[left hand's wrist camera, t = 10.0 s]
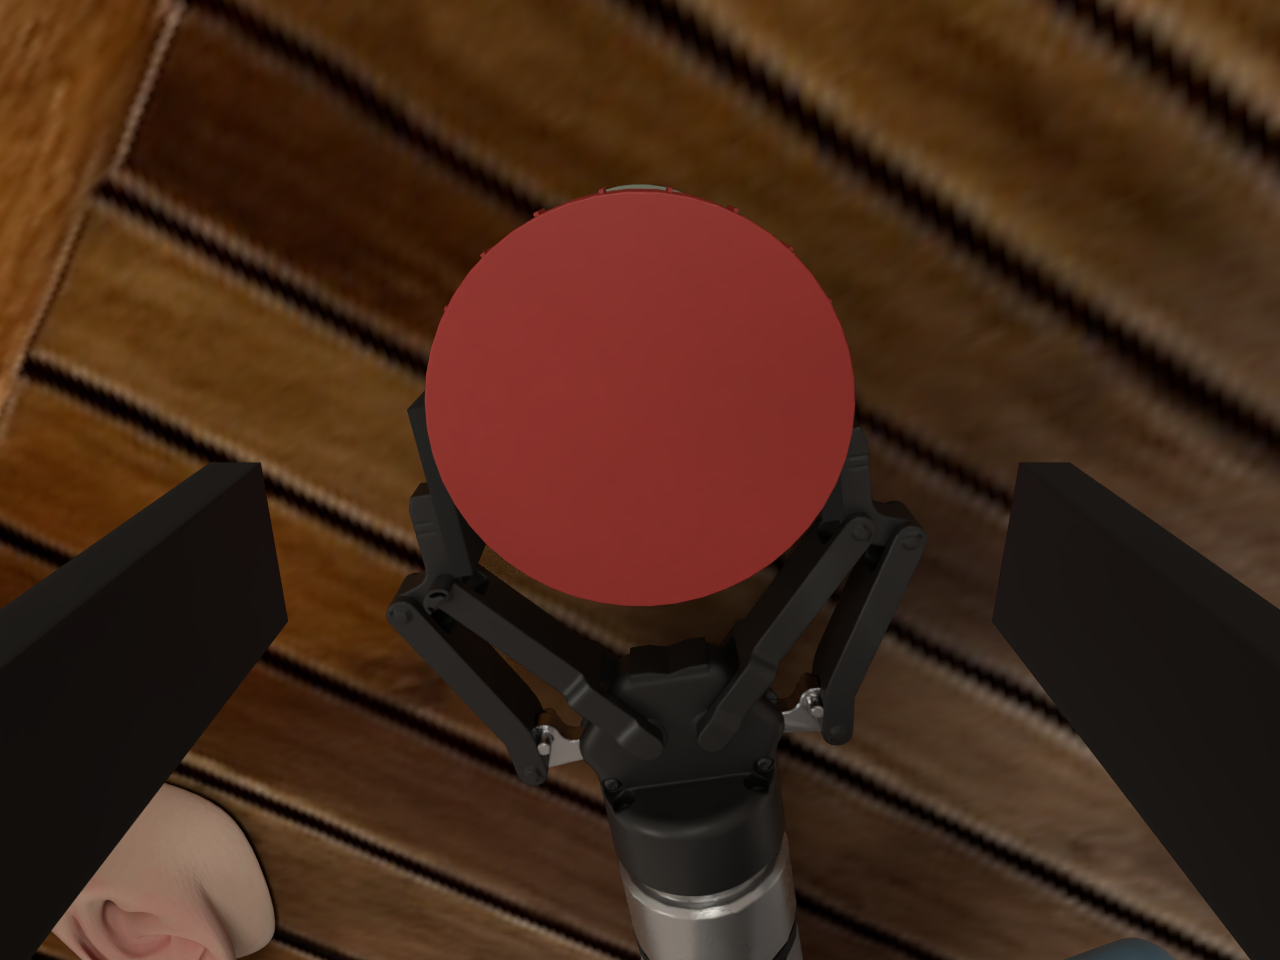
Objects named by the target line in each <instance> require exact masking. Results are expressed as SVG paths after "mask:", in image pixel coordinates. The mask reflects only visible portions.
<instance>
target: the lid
mask: <svg viewBox="0 0 1280 960" xmlns="http://www.w3.org/2000/svg"><path fill="white" fill-rule="evenodd" d="M598 191H599V193H595V194H592V195H588V196H584V197H581V198H577V199H573V200H571V201H569V202H566V203H564V204H562V205H559V206H557V207H555V208H552V209H550V210H548V211H545V209H541V210H539V211H537V212H536V213H534V216H535V218H533V219H532V220H530V221H528V222H527V223H525V224H523V225H522V226H520V227H519V228H517V229H515V230H514V231H512V232H511V233H510V234H508V235H507V236H506V237H505V238H504V239H502V240H501V241H500V242H499V243H497V244H496V245H495V246H494V247H492V248H490V249H488V250H486V251H485V252H483V253H482V254H481V255H480V256H481V257H482V259H481V260H480V261H479V262H478V263H477V264H476V265H475V266H474V267H473V268H472V270H471V271H470V272H469V273H468V275H467V276H466V278H465V279H464V280H463V282H462V283H461V285H460V286H459V288H458V289H457V291H456V292H455V293H454V295H453V297H452V299H451V301H450V303H449V304H448V305H447V306H446V307H445V309H444V311H445V313H444V315H443V317H442V319H441V321H440V323H439V326H438V329H437V332H436V335H435V338H434V341H433V344H432V347H431V352H430V357H429V363H428V368H427V373H426V388H425V410H426V422H427V431H428V435H429V440H430V444H431V449H432V453H433V457H434V459H435V462H436V465H437V468H438V470H439V473H440V476H441V479H442V481H443V483H444V485H445V487H446V489H447V491H448V492H449V494H450V496H451V498H452V500H453V502H454V504H455V505H456V507H457V508H458V510H459V511H460V512H461V514H462V515H463V517H464V518H465V520H466V521H467V522H468V524H469V525H470V526H471V528H472V529H473V530H474V531H475V532H476V533H477V534H478V535H479V536H480V537H481V539H482V540H483V541H484V542H485V543H486V544H487V545H488V546H489V547H490V548H491V549H493V550H494V551H495V552H496V553H497V554H498V555H500V556H501V557H502V558H503V559H504V560H505V561H506V562H508V563H509V564H511V565H512V566H514V567H515V568H517V569H518V570H520V571H521V572H523V573H524V574H526V575H527V576H529V577H531V578H533V579H535V580H537V581H539V582H541V583H543V584H545V585H547V586H549V587H550V588H553V589H556V590H558V591H561V592H564V593H567V594H569V595H572V596H575V597H579V598H583V599H587V600H591V601H595V602H599V603H606V604H614V605H622V606H656V605H666V604H675V603H680V602H685V601H689V600H693V599H698V598H702V597H705V596H708V595H711V594H713V593H716V592H719V591H722V590H725V589H727V588H729V587H731V586H733V585H735V584H737V583H739V582H741V581H743V580H745V579H747V578H749V577H751V576H752V575H754V574H755V573H757V572H759V571H760V570H762V569H763V568H765V567H766V566H768V565H769V564H771V563H772V562H773V561H774V560H776V559H777V558H778V557H779V556H780V555H782V554H783V553H784V552H785V551H786V550H788V549H789V548H790V547H791V546H792V545H793V544H794V543H795V542H796V541H797V540H798V539H799V537H800V536H801V535H802V534H803V533H804V532H805V531H806V530H807V529H808V528H809V526H810V525H811V524H812V522H813V521H814V519H815V518H816V517H817V515H818V514H819V513H820V511H821V510H822V508H823V507H824V505H825V503H826V502H827V500H828V498H829V496H830V494H831V492H832V491H833V489H834V487H835V485H836V483H837V481H838V478H839V475H840V473H841V470H842V468H843V465H844V463H845V460H846V457H847V452H848V448H849V444H850V440H851V436H852V431H853V421H854V412H855V387H854V374H853V368H852V361H851V357H850V351H849V348H848V345H847V342H846V338H845V335H844V332H843V329H842V326H841V323H840V321H839V319H838V317H837V315H836V313H835V311H834V309H833V307H832V301H831V299H830V298H828V297H827V295H826V294H825V292H824V291H823V289H822V288H821V286H820V285H819V283H818V282H817V280H816V279H815V277H814V276H813V274H812V273H811V272H810V271H809V270H808V269H807V268H806V266H805V265H804V264H803V263H802V262H801V261H800V260H799V259H798V257H797V256H796V255H795V254H794V253H793V250H794V249H793V248H792V247H791V246H789V245H787V244H786V243H784V242H782V241H781V242H780V241H779V240H778V239H777V238H775V237H774V236H773V235H772V234H771V233H769V232H768V231H766V230H764V229H763V228H761V227H760V226H758V225H757V224H755V223H753V222H752V221H750V220H749V219H747V218H745V217H744V216H742V215H740V214H738V211H739V209H737V208H735V207H733V206H731V205H728V207H727V208H725V207H723V206H721V205H719V204H716V203H714V202H712V201H709V200H706V199H702V198H699V197H696V196H692V195H689V194H686V193H681V192H674V191H673V188H671V187H668V186H666V190H661V189H621V190H613V191H606V188H601V189H600V190H598Z"/></svg>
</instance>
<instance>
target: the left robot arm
mask: <svg viewBox="0 0 1280 960" xmlns="http://www.w3.org/2000/svg"><path fill="white" fill-rule="evenodd" d="M287 622H288V618H287V612H286V607H285V601H284V595H283V589H282V583H281V578H280V572H279V566H278V560H277V554H276V549H275V543H274V537H273V531H272V525H271V520H270V514H269V508H268V502H267V496H266V491H265V485H264V479H263V473H262V467H261V463H209V464H207V465H206V466H205V467H203V468H202V469H200V470H199V471H197V472H196V473H195V474H193V475H192V476H190V477H189V478H187V479H186V480H185V481H183V482H182V483H180V484H179V485H177V486H176V487H175V488H173V489H172V490H170V491H169V492H167V493H166V494H165V495H163V496H162V497H160V498H159V499H157V500H156V501H155V502H153V503H152V504H150V505H149V506H147V507H146V508H145V509H143V510H142V511H140V512H139V513H137V514H136V515H135V516H133V517H132V518H130V519H129V520H127V521H126V522H125V523H123V524H122V525H120V526H119V527H118V528H116V529H115V530H113V531H112V532H110V533H109V534H108V535H106V536H105V537H103V538H102V539H100V540H99V541H98V542H96V543H95V544H93V545H92V546H90V547H89V548H88V549H86V550H85V551H83V552H82V553H80V554H79V555H78V556H76V557H75V558H73V559H72V560H70V561H69V562H68V563H66V564H65V565H63V566H62V567H60V568H59V569H58V570H56V571H55V572H53V573H52V574H50V575H49V576H48V577H46V578H45V579H43V580H42V581H40V582H39V583H38V584H36V585H35V586H33V587H32V588H31V589H29V590H28V591H26V592H25V593H23V594H22V595H21V596H19V597H18V598H16V599H15V600H13V601H12V602H11V603H9V604H8V605H6V606H5V607H3V608H2V609H1V610H0V960H29V959H30V958H31V957H32V956H33V954H34V953H35V952H36V950H37V949H38V948H39V946H40V945H41V944H42V942H43V941H44V940H45V939H46V937H47V936H48V935H49V933H50V932H51V931H52V929H53V928H54V927H55V925H56V924H57V923H58V922H59V920H60V919H61V918H62V916H63V915H64V914H65V912H66V911H67V910H68V908H69V907H70V906H71V905H72V903H73V902H74V901H75V899H76V898H77V897H78V895H79V894H80V893H81V891H82V890H83V889H84V888H85V886H86V885H87V884H88V882H89V881H90V880H91V878H92V877H93V876H94V874H95V873H96V872H97V871H98V869H99V868H100V867H101V865H102V864H103V863H104V861H105V860H106V859H107V857H108V856H109V855H110V854H111V852H112V851H113V850H114V848H115V847H116V846H117V844H118V843H119V842H120V840H121V839H122V838H123V837H124V835H125V834H126V833H127V831H128V830H129V829H130V827H131V826H132V825H133V823H134V822H135V821H136V820H137V818H138V817H139V816H140V814H141V813H142V812H143V810H144V809H145V808H146V806H147V805H148V804H149V803H150V801H151V800H152V799H153V797H154V796H155V795H156V793H157V792H158V791H159V789H160V788H161V787H162V786H163V784H164V783H165V782H166V780H167V779H168V778H169V776H170V775H171V774H172V772H173V771H174V770H175V769H176V767H177V766H178V765H179V763H180V762H181V761H182V759H183V758H184V757H185V755H186V754H187V753H188V752H189V750H190V749H191V748H192V746H193V745H194V744H195V742H196V741H197V740H198V738H199V737H200V736H201V735H202V733H203V732H204V731H205V729H206V728H207V727H208V725H209V724H210V723H211V721H212V720H213V719H214V718H215V716H216V715H217V714H218V712H219V711H220V710H221V708H222V707H223V706H224V704H225V703H226V702H227V701H228V699H229V698H230V697H231V695H232V694H233V693H234V691H235V690H236V689H237V687H238V686H239V685H240V684H241V682H242V681H243V680H244V678H245V677H246V676H247V674H248V673H249V672H250V670H251V669H252V668H253V667H254V665H255V664H256V663H257V661H258V660H259V659H260V657H261V656H262V655H263V653H264V652H265V651H266V650H267V648H268V647H269V646H270V644H271V643H272V642H273V640H274V639H275V638H276V637H277V635H278V634H279V633H280V631H281V630H282V629H283V627H284V626H285V625H286V623H287ZM992 622H993V623H994V625H995V626H996V627H997V629H998V630H999V631H1000V633H1001V634H1002V635H1003V637H1004V638H1005V639H1006V640H1007V642H1008V643H1009V644H1010V646H1011V647H1012V648H1013V650H1014V651H1015V652H1016V653H1017V655H1018V656H1019V657H1020V659H1021V660H1022V661H1023V663H1024V664H1025V665H1026V667H1027V668H1028V669H1029V670H1030V672H1031V673H1032V674H1033V676H1034V677H1035V678H1036V680H1037V681H1038V682H1039V684H1040V685H1041V686H1042V687H1043V689H1044V690H1045V691H1046V693H1047V694H1048V695H1049V697H1050V698H1051V699H1052V701H1053V702H1054V703H1055V704H1056V706H1057V707H1058V708H1059V710H1060V711H1061V712H1062V714H1063V715H1064V716H1065V718H1066V719H1067V720H1068V721H1069V723H1070V724H1071V725H1072V727H1073V728H1074V729H1075V731H1076V732H1077V733H1078V735H1079V736H1080V737H1081V738H1082V740H1083V741H1084V742H1085V744H1086V745H1087V746H1088V748H1089V749H1090V750H1091V752H1092V753H1093V754H1094V755H1095V757H1096V758H1097V759H1098V761H1099V762H1100V763H1101V765H1102V766H1103V767H1104V769H1105V770H1106V771H1107V772H1108V774H1109V775H1110V776H1111V778H1112V779H1113V780H1114V782H1115V783H1116V784H1117V786H1118V787H1119V788H1120V789H1121V791H1122V792H1123V793H1124V795H1125V796H1126V797H1127V799H1128V800H1129V801H1130V803H1131V804H1132V805H1133V806H1134V808H1135V809H1136V810H1137V812H1138V813H1139V814H1140V816H1141V817H1142V818H1143V820H1144V821H1145V822H1146V823H1147V825H1148V826H1149V827H1150V829H1151V830H1152V831H1153V833H1154V834H1155V835H1156V837H1157V838H1158V839H1159V840H1160V842H1161V843H1162V844H1163V846H1164V847H1165V848H1166V850H1167V851H1168V852H1169V854H1170V855H1171V856H1172V857H1173V859H1174V860H1175V861H1176V863H1177V864H1178V865H1179V867H1180V868H1181V869H1182V871H1183V872H1184V873H1185V874H1186V876H1187V877H1188V878H1189V880H1190V881H1191V882H1192V884H1193V885H1194V886H1195V888H1196V889H1197V890H1198V891H1199V893H1200V894H1201V895H1202V897H1203V898H1204V899H1205V901H1206V902H1207V903H1208V905H1209V906H1210V907H1211V908H1212V910H1213V911H1214V912H1215V914H1216V915H1217V916H1218V918H1219V919H1220V920H1221V922H1222V923H1223V924H1224V925H1225V927H1226V928H1227V929H1228V931H1229V932H1230V933H1231V935H1232V936H1233V937H1234V939H1235V940H1236V941H1237V942H1238V944H1239V945H1240V946H1241V948H1242V949H1243V950H1244V952H1245V953H1246V954H1247V956H1248V957H1249V958H1250V959H1251V960H1280V610H1279V609H1278V608H1277V607H1275V606H1274V605H1272V604H1271V603H1269V602H1268V601H1267V600H1265V599H1264V598H1262V597H1261V596H1259V595H1258V594H1257V593H1255V592H1254V591H1252V590H1251V589H1249V588H1248V587H1247V586H1245V585H1244V584H1242V583H1241V582H1240V581H1238V580H1237V579H1235V578H1234V577H1232V576H1231V575H1230V574H1228V573H1227V572H1225V571H1224V570H1222V569H1221V568H1220V567H1218V566H1217V565H1215V564H1214V563H1212V562H1211V561H1210V560H1208V559H1207V558H1205V557H1204V556H1202V555H1201V554H1200V553H1198V552H1197V551H1195V550H1194V549H1192V548H1191V547H1190V546H1188V545H1187V544H1185V543H1184V542H1182V541H1181V540H1180V539H1178V538H1177V537H1175V536H1174V535H1172V534H1171V533H1170V532H1168V531H1167V530H1165V529H1164V528H1162V527H1161V526H1160V525H1158V524H1157V523H1155V522H1154V521H1153V520H1151V519H1150V518H1148V517H1147V516H1145V515H1144V514H1143V513H1141V512H1140V511H1138V510H1137V509H1135V508H1134V507H1133V506H1131V505H1130V504H1128V503H1127V502H1125V501H1124V500H1123V499H1121V498H1120V497H1118V496H1117V495H1115V494H1114V493H1113V492H1111V491H1110V490H1108V489H1107V488H1105V487H1104V486H1103V485H1101V484H1100V483H1098V482H1097V481H1095V480H1094V479H1093V478H1091V477H1090V476H1088V475H1087V474H1085V473H1084V472H1083V471H1081V470H1080V469H1078V468H1077V467H1075V466H1074V465H1073V464H1071V463H1019V467H1018V473H1017V479H1016V485H1015V491H1014V496H1013V502H1012V508H1011V514H1010V520H1009V525H1008V531H1007V537H1006V543H1005V549H1004V554H1003V560H1002V566H1001V572H1000V578H999V583H998V589H997V595H996V601H995V607H994V612H993V618H992Z"/></svg>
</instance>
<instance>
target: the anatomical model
mask: <svg viewBox="0 0 1280 960" xmlns="http://www.w3.org/2000/svg"><path fill="white" fill-rule="evenodd" d="M274 931H275V917H274V909H273V905H272V901H271V897H270V894H269V890H268V887H267V884H266V881H265V878H264V876H263V873H262V870H261V868H260V865H259V863H258V860H257V858H256V856H255V854H254V852H253V850H252V847H251V846H250V844H249V842H248V840H247V839H246V837H245V835H244V833H243V832H242V831H241V829H240V828H239V826H238V825H237V824H236V822H235V821H234V820H233V819H232V818H231V817H230V816H229V815H228V814H227V813H226V812H225V811H223V810H222V809H221V808H220V807H218V806H217V805H215V804H214V803H212V802H211V801H209V800H207V799H205V798H203V797H201V796H199V795H197V794H194V793H192V792H189V791H187V790H185V789H182V788H179V787H176V786H173V785H170V784H167V783H164V784H163V786H162V787H161V788H160V789H159V791H158V792H157V793H156V795H155V796H154V797H153V799H152V800H151V801H150V803H149V804H148V805H147V806H146V808H145V809H144V810H143V812H142V813H141V814H140V816H139V817H138V818H137V820H136V821H135V822H134V823H133V825H132V826H131V827H130V829H129V830H128V831H127V833H126V834H125V835H124V837H123V838H122V839H121V840H120V842H119V843H118V844H117V846H116V847H115V848H114V850H113V851H112V852H111V854H110V855H109V856H108V857H107V859H106V860H105V861H104V863H103V864H102V865H101V867H100V868H99V869H98V871H97V872H96V873H95V874H94V876H93V877H92V878H91V880H90V881H89V882H88V884H87V885H86V886H85V888H84V889H83V890H82V891H81V893H80V894H79V895H78V897H77V898H76V899H75V901H74V902H73V903H72V905H71V906H70V907H69V908H68V910H67V911H66V912H65V914H64V915H63V916H62V918H61V919H60V920H59V922H58V923H57V924H56V925H55V927H54V928H53V929H52V932H53V933H54V934H55V935H56V936H58V937H59V938H60V939H61V940H62V941H63V942H64V943H65V944H66V945H67V946H68V947H69V948H70V949H71V950H73V951H74V952H75V953H76V954H77V955H78V956H79V957H80V958H81V959H82V960H237V959H236V958H240V957H243V956H246V955H249V954H252V953H254V952H256V951H258V950H260V949H262V948H263V947H264V946H266V945H267V944H268V943H269V942H270V940H271V939H272V937H273V934H274Z"/></svg>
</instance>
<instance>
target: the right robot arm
mask: <svg viewBox="0 0 1280 960" xmlns="http://www.w3.org/2000/svg"><path fill="white" fill-rule="evenodd" d="M407 411H408V415H409V419H410V422H411V426H412V430H413V433H414V437H415V440H416V444H417V448H418V451H419V455H420V459H421V462H422V466H423V469H424V473H425V477H426V480H427V482H426V483H420V484H419V486H418V487H417V489H416V490H415V492H414V493H413V495H412V496H411V499H410V506H409V513H410V516H411V520H412V523H413V525H414V526H413V527H414V530H415V534H416V537H417V541H418V544H419V547H420V551H421V554H422V558H423V561H424V565H425V570H424V571H422V572H420V573H412V574H409V575H408V576H407V577H406V578H405V579H404V581H403V583H402V584H401V586H400V588H399V590H398V592H397V593H396V595H395V597H394V599H393V600H392V602H391V604H390V606H389V607H388V610H387V613H386V615H387V620H388V621H389V623H390V624H391V625H392V626H393V627H394V629H395V630H396V631H397V632H398V633H399V634H400V635H401V636H402V637H403V638H404V639H405V640H406V641H407V642H408V643H409V644H410V645H411V646H412V647H413V648H414V650H415V651H416V652H417V653H418V654H419V655H420V656H421V657H422V658H423V659H424V660H425V661H426V662H427V663H428V664H429V665H430V666H431V667H432V668H433V669H434V670H435V672H436V673H437V674H438V675H439V676H440V677H441V678H442V679H443V680H444V681H445V682H446V683H447V684H448V685H449V686H450V687H451V688H452V689H453V690H454V691H455V693H456V694H457V695H458V696H459V697H460V698H461V699H462V700H463V701H464V702H465V703H466V704H467V705H468V706H469V707H470V708H471V709H472V710H473V711H474V712H475V713H476V715H477V716H478V717H479V718H480V719H481V720H482V721H483V722H484V723H485V724H486V725H487V726H488V727H489V728H490V729H491V730H492V731H493V732H494V733H495V734H496V736H497V737H498V738H499V739H500V740H501V741H502V742H503V743H504V744H505V745H506V748H507V750H508V752H509V755H510V757H511V760H512V762H513V764H514V767H515V769H516V772H517V774H518V776H519V778H520V779H521V781H522V782H524V783H525V784H528V785H539V784H541V783H543V782H544V781H545V780H546V778H547V774H548V768H549V767H552V766H557V765H561V764H565V763H569V762H574V761H578V760H582V759H584V760H585V762H586V763H587V764H588V765H590V766H591V767H592V769H593V770H594V771H595V772H596V774H597V776H598V778H599V781H600V785H601V789H602V793H603V798H604V802H605V806H606V811H607V815H608V819H609V824H610V828H611V833H612V837H613V841H614V846H615V850H616V853H617V856H618V858H619V868H620V872H621V876H622V881H623V885H624V889H625V893H626V897H627V902H628V906H629V910H630V914H631V918H632V923H633V927H634V932H635V935H636V939H637V943H638V947H639V950H640V954H641V960H803V956H802V950H801V944H800V938H799V932H798V926H797V915H796V898H795V890H794V883H793V876H792V869H791V861H790V854H789V847H788V840H787V834H786V832H785V818H784V811H783V803H782V795H781V788H780V780H779V772H778V765H777V757H776V749H777V745H778V743H779V741H780V739H781V737H782V735H783V733H785V732H809V731H821V732H822V735H823V738H824V739H825V741H826V742H827V743H829V744H831V745H842V744H844V743H846V742H848V741H849V740H850V739H851V737H852V734H853V720H854V699H855V695H856V693H857V691H858V689H859V687H860V685H861V683H862V681H863V678H864V676H865V674H866V672H867V670H868V668H869V666H870V664H871V662H872V659H873V657H874V655H875V653H876V651H877V649H878V647H879V645H880V643H881V641H882V638H883V636H884V634H885V632H886V630H887V628H888V626H889V624H890V622H891V619H892V617H893V615H894V613H895V611H896V609H897V607H898V605H899V603H900V600H901V598H902V596H903V594H904V592H905V590H906V588H907V586H908V584H909V581H910V579H911V577H912V575H913V573H914V571H915V569H916V567H917V565H918V562H919V560H920V558H921V556H922V554H923V552H924V550H925V548H926V546H927V541H928V538H927V534H926V532H925V531H924V530H923V528H922V527H921V526H920V524H919V523H918V522H917V520H916V519H915V518H914V516H913V515H912V514H911V513H910V511H909V510H908V509H907V508H906V506H905V505H904V504H903V503H901V502H899V501H890V502H887V503H881V502H876V501H873V500H872V496H871V482H870V468H869V456H868V441H867V438H866V436H865V434H864V432H863V431H862V429H861V427H860V426H859V425H858V423H857V422H856V421H855V420H854V421H853V431H852V436H851V440H850V444H849V448H848V452H847V457H846V460H845V463H844V465H843V468H842V470H841V473H840V475H839V478H838V481H837V483H836V485H835V487H834V489H833V491H832V492H831V494H830V496H829V498H828V500H827V502H826V503H825V505H824V507H823V508H822V510H821V511H820V513H819V515H820V517H819V518H818V520H817V521H816V523H815V524H814V525H813V527H812V528H811V529H810V531H809V532H808V533H807V535H806V536H805V538H804V539H803V540H802V542H801V543H800V544H799V546H798V547H797V548H796V550H795V551H794V553H793V554H792V555H791V557H790V558H789V559H788V561H787V562H786V563H785V565H784V566H783V568H782V569H781V570H780V572H779V573H778V574H777V576H776V577H775V578H774V580H773V581H772V583H771V584H770V585H769V587H768V588H767V589H766V591H765V592H764V593H763V595H762V596H761V598H760V599H759V600H758V602H757V603H756V604H755V606H754V607H753V608H752V610H751V611H750V613H749V614H748V615H747V616H746V618H744V619H739V620H738V621H737V622H736V624H735V625H734V626H733V628H732V629H731V630H730V632H729V633H728V635H727V636H726V637H725V639H724V640H723V641H722V643H721V644H720V646H719V645H716V644H712V643H706V642H705V638H704V637H701V638H694V639H687V640H684V641H682V642H679V643H676V644H674V645H671V646H668V647H665V646H653V645H646V646H639V647H632V648H630V654H627V655H625V656H624V657H622V658H621V659H620V658H618V657H617V656H616V655H614V654H613V653H612V652H610V651H609V650H607V649H606V648H605V647H603V646H602V645H600V644H599V643H598V642H596V641H594V640H589V641H586V640H584V639H583V638H581V637H580V636H578V635H577V634H576V633H574V632H573V631H571V630H570V629H569V628H567V627H566V626H564V625H563V624H562V623H560V622H559V621H558V620H556V619H555V618H553V617H552V616H551V615H549V614H548V613H546V612H545V611H544V610H542V609H541V608H539V607H538V606H537V605H535V604H534V603H533V602H531V601H530V600H528V599H527V598H526V597H524V596H523V595H521V594H520V593H519V592H517V591H516V590H514V589H513V588H512V587H510V586H509V585H508V584H506V583H505V582H503V581H502V580H501V579H499V578H498V577H496V576H495V575H494V574H492V573H491V572H489V571H488V570H487V569H485V568H484V567H483V566H481V565H480V564H478V562H479V560H480V557H481V555H482V552H483V550H484V547H485V545H486V543H485V542H484V541H483V540H482V539H481V537H480V536H479V535H478V534H477V533H476V532H475V531H474V530H473V529H472V528H471V526H470V525H469V524H468V522H467V521H466V520H465V518H464V517H463V515H462V514H461V512H460V511H459V510H458V508H457V507H456V505H455V504H454V502H453V500H452V498H451V496H450V494H449V492H448V491H447V489H446V487H445V485H444V483H443V481H442V479H441V476H440V473H439V470H438V468H437V465H436V462H435V459H434V457H433V453H432V449H431V444H430V440H429V435H428V431H427V422H426V410H425V391H424V392H423V393H422V394H421V395H420V396H419V398H418V399H417V400H416V401H415V402H414V403H413V404H412V405H411V406H410V407H409V408H408V409H407ZM853 566H854V567H853ZM852 568H853V569H852ZM851 569H852V571H851V573H850V576H849V578H848V580H847V582H846V585H845V587H844V589H843V591H842V594H841V596H840V598H839V600H838V603H837V605H836V607H835V610H834V612H833V614H832V616H831V619H830V621H829V623H828V625H827V628H826V630H825V632H824V634H823V637H822V639H821V641H820V643H819V646H818V648H817V651H816V654H815V657H814V661H813V667H812V674H811V673H804V674H802V675H801V677H800V681H799V682H798V683H797V686H796V689H795V691H794V693H793V694H792V695H791V696H789V697H787V698H785V699H778V697H777V695H776V694H775V693H774V692H773V691H772V690H771V689H770V688H769V686H770V685H771V683H772V682H773V680H774V679H775V676H776V673H777V669H778V665H779V663H780V662H781V660H782V659H783V658H784V656H785V655H786V654H787V653H788V651H789V650H790V649H791V647H792V646H793V645H794V643H795V642H796V641H797V640H798V638H799V637H800V636H801V634H802V633H803V632H804V630H805V629H806V628H807V626H808V625H809V624H810V623H811V621H812V620H813V619H814V617H815V616H816V615H817V613H818V612H819V611H820V610H821V608H822V607H823V606H824V604H825V603H826V602H827V600H828V599H829V598H830V596H831V595H832V594H833V593H834V591H835V590H836V589H837V587H838V586H839V585H840V583H841V582H842V581H843V580H844V578H845V577H846V576H847V574H848V573H849V572H850V570H851ZM488 642H489V643H490V644H492V645H493V646H494V647H496V648H497V649H499V650H500V651H502V652H503V653H505V654H506V655H507V656H509V657H510V658H512V659H513V660H515V661H516V662H517V663H519V664H520V665H522V666H523V667H525V668H526V669H528V670H529V671H530V672H532V673H533V674H535V675H536V676H538V677H539V678H540V679H542V680H543V681H545V682H546V683H548V684H549V685H551V686H552V687H553V688H555V689H556V690H558V691H559V692H561V693H562V694H563V695H564V697H565V699H566V701H567V703H568V705H569V706H570V707H571V708H572V709H573V710H574V711H576V712H577V713H579V714H580V715H582V716H583V717H584V718H583V720H582V723H581V726H579V727H570V726H568V725H566V724H564V723H563V722H562V720H561V719H560V718H559V717H558V716H557V715H556V711H555V710H554V709H551V708H547V709H545V710H543V708H542V706H541V704H540V702H539V700H538V699H537V697H536V695H535V694H534V693H533V691H532V690H531V689H530V688H529V686H528V685H527V684H526V683H525V682H524V681H523V680H522V679H521V678H520V677H519V676H518V674H517V673H516V672H515V671H514V670H513V669H512V668H511V667H510V666H509V665H508V663H507V662H506V661H505V660H504V659H503V658H502V657H501V656H500V655H499V654H498V653H497V651H496V650H495V649H494V648H493V647H492V646H491V645H490V644H489V643H488ZM601 684H603V685H602V686H601ZM1065 960H1175V959H1174V958H1173V957H1172V956H1171V955H1170V954H1169V953H1168V952H1167V951H1165V950H1164V949H1162V948H1161V947H1159V946H1158V945H1156V944H1154V943H1152V942H1149V941H1147V940H1143V939H1138V938H1128V939H1121V940H1118V941H1115V942H1112V943H1109V944H1106V945H1104V946H1101V947H1098V948H1095V949H1092V950H1090V951H1087V952H1084V953H1081V954H1079V955H1076V956H1073V957H1070V958H1067V959H1065Z"/></svg>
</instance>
